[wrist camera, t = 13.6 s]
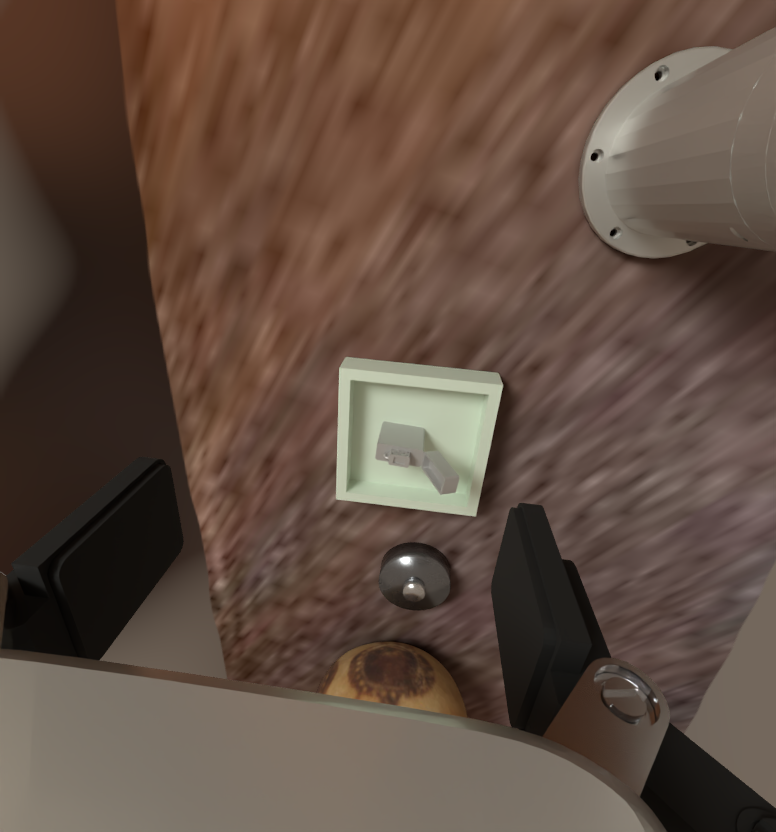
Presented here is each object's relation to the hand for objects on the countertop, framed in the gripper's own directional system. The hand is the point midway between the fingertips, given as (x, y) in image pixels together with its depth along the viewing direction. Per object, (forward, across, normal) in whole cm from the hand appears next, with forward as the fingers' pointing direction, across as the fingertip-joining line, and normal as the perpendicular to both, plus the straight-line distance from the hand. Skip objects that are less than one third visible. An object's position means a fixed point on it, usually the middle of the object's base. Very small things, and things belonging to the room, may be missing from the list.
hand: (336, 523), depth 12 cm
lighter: (+28, -2, +12) cm, 30 cm away
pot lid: (+28, -4, +30) cm, 41 cm away
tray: (+28, -2, +12) cm, 31 cm away
